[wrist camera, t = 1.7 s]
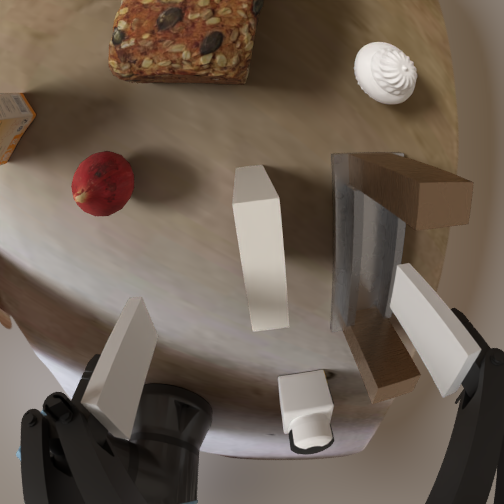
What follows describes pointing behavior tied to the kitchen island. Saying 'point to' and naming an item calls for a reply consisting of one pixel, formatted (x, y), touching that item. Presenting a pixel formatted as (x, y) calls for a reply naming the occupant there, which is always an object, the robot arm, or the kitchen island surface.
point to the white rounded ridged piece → (385, 73)
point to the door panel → (261, 247)
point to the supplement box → (13, 122)
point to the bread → (184, 40)
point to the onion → (103, 183)
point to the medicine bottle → (306, 411)
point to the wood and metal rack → (383, 253)
